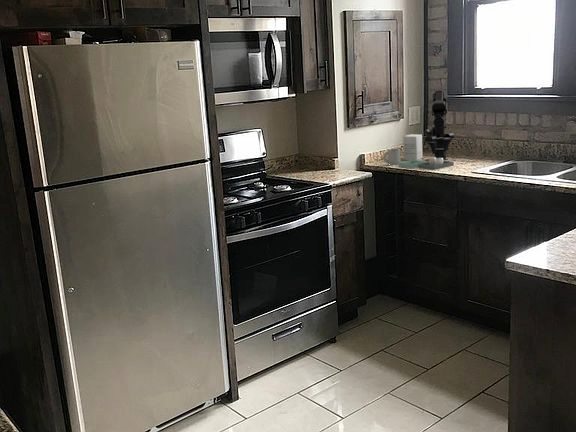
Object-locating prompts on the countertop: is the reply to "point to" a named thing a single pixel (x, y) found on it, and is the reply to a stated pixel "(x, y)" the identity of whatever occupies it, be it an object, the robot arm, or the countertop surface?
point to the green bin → (411, 163)
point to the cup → (392, 157)
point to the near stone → (439, 161)
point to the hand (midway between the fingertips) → (439, 152)
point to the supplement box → (412, 147)
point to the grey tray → (445, 164)
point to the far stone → (432, 161)
